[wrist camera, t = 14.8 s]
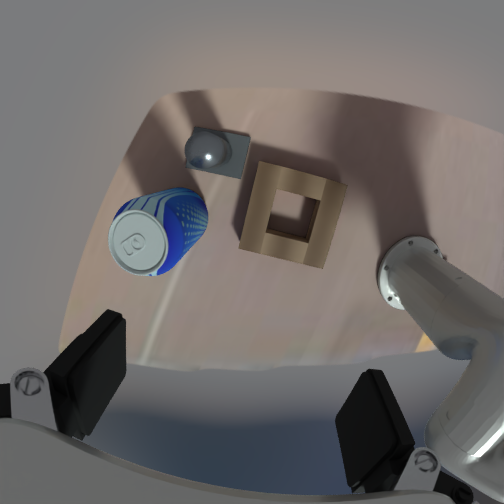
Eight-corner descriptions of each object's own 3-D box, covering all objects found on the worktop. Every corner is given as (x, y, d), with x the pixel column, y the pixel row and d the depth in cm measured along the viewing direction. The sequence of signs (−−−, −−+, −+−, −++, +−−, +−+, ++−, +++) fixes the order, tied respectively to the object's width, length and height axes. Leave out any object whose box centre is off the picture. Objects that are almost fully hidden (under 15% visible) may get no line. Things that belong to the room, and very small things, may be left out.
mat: (250, 137, 38) (250, 137, 37) (240, 178, 39) (240, 179, 39) (195, 127, 37) (194, 126, 37) (186, 167, 39) (185, 167, 39)
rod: (235, 141, 37) (225, 134, 28) (229, 169, 38) (218, 171, 29) (206, 136, 37) (188, 128, 28) (201, 164, 38) (181, 165, 29)
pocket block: (341, 183, 39) (347, 185, 36) (319, 261, 42) (322, 268, 39) (259, 161, 38) (259, 160, 36) (240, 242, 42) (238, 248, 39)
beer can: (160, 182, 40) (103, 193, 25) (214, 192, 40) (182, 208, 25) (153, 236, 42) (99, 273, 27) (205, 248, 43) (172, 293, 27)
